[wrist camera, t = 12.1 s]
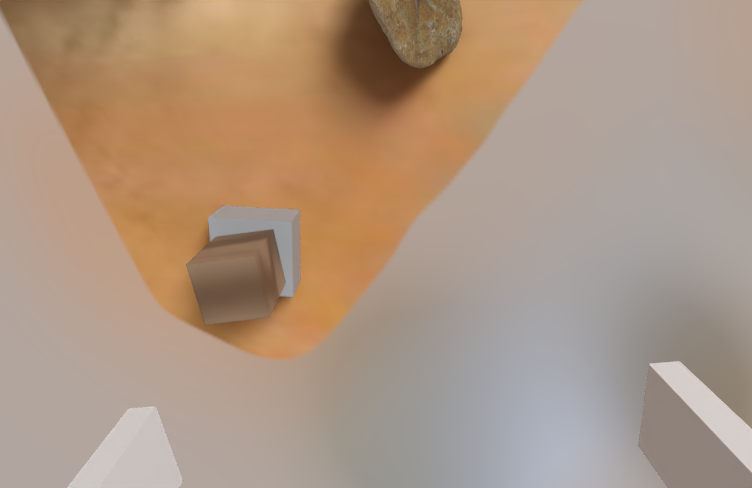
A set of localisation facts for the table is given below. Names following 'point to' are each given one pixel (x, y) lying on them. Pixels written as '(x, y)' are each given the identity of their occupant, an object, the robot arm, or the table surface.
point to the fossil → (419, 28)
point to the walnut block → (237, 277)
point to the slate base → (265, 219)
